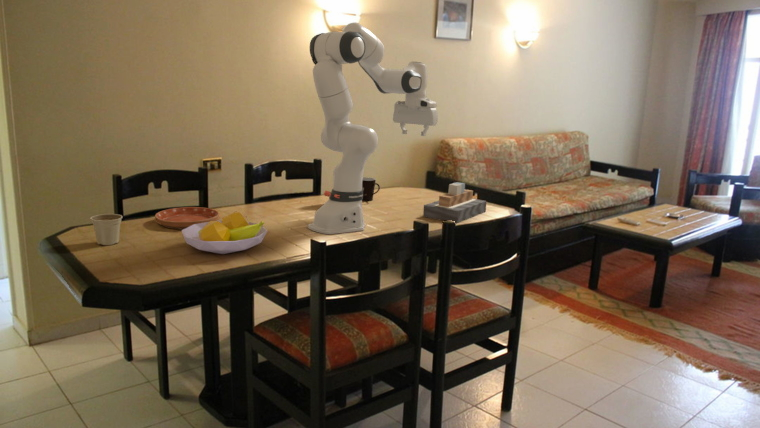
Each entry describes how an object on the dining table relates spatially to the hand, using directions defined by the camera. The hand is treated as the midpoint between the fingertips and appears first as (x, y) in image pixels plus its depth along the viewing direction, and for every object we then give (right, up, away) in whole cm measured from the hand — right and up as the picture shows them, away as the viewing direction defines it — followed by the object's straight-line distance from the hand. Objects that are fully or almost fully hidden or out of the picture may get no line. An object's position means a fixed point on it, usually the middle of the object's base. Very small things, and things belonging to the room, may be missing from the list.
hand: (413, 134), depth 241 cm
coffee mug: (-20, -28, +25) cm, 42 cm away
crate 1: (+18, -25, +1) cm, 31 cm away
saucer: (-87, -37, -28) cm, 99 cm away
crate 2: (+19, -24, +4) cm, 31 cm away
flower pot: (-103, -43, -57) cm, 125 cm away
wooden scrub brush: (+18, -29, +3) cm, 34 cm away
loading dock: (+18, -34, +4) cm, 39 cm away
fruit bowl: (-64, -45, -57) cm, 97 cm away
